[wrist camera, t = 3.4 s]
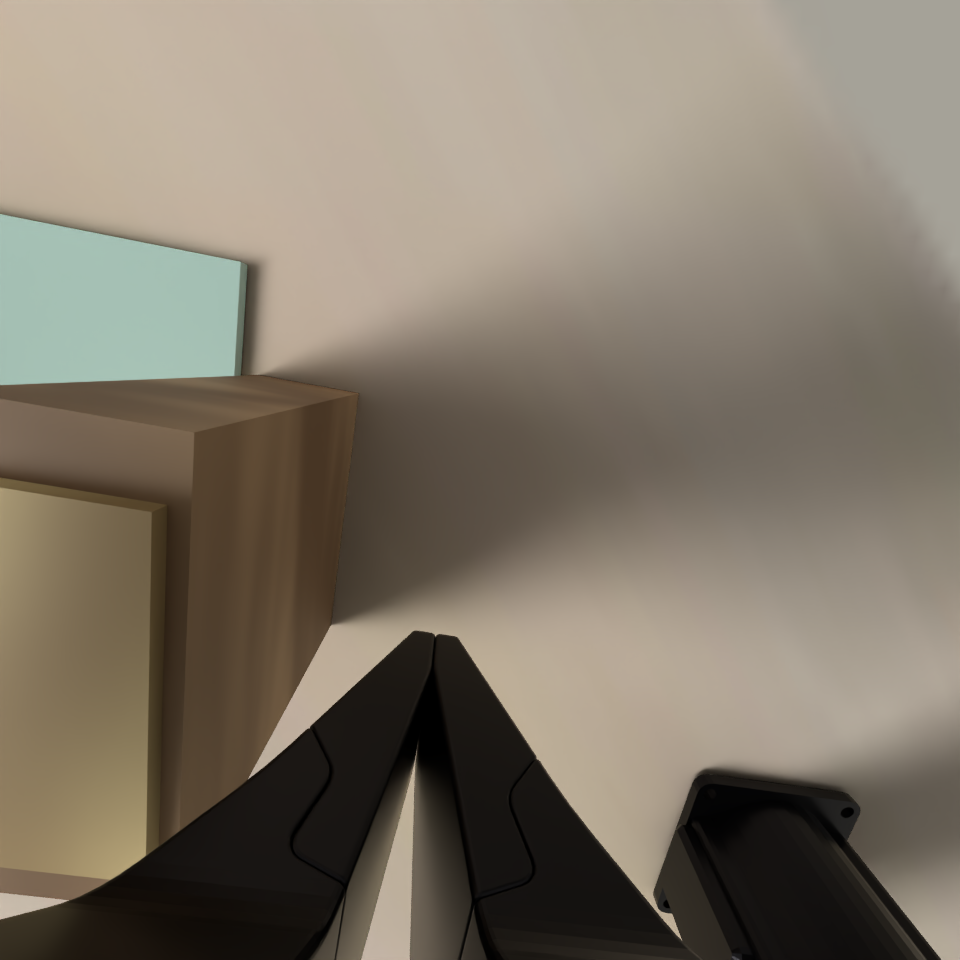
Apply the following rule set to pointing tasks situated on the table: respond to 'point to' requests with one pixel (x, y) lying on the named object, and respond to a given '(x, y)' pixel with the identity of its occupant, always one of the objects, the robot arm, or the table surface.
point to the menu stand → (153, 604)
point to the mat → (113, 308)
